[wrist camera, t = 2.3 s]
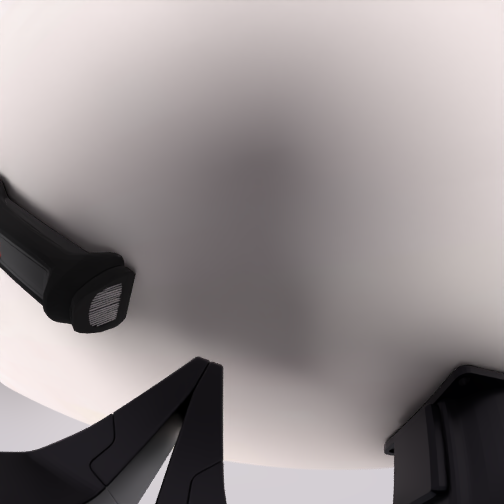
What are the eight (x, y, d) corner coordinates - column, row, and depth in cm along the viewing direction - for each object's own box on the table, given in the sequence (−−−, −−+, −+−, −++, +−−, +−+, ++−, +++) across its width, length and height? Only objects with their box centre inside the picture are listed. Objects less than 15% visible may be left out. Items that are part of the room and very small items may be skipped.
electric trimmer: (-39, 132, 12) (-79, 146, 9) (143, 259, 12) (90, 306, 9) (-40, 185, 14) (-75, 202, 11) (127, 322, 13) (86, 368, 11)
